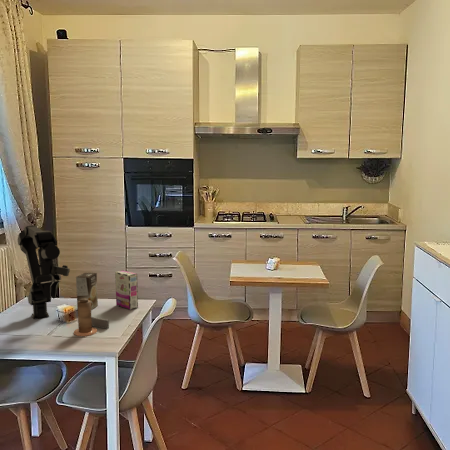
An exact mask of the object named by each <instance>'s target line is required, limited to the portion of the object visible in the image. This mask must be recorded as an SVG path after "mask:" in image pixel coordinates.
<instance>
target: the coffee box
mask: <svg viewBox="0 0 450 450" xmlns="http://www.w3.org/2000/svg"><path fill="white" fill-rule="evenodd" d="M97 277H98V273H97V272H83V273H81V274H79V275H77V276H76V277H75V283H76V284H75V286H76V303H77V302H78V301H80V299H83V298H87V299H88V300H90V301H91V311H92V310H94V309H96V308H97V307H98V306H99V303H98V279H97ZM76 308H77V312H78V307H76Z"/></svg>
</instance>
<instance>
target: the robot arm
mask: <svg viewBox="0 0 450 450" xmlns="http://www.w3.org/2000/svg"><path fill="white" fill-rule="evenodd" d="M17 245H18V246H19V249H20V251H21V252H23V254H25V258H26V261H27V262H26V263H27V266H28V270H29V274H30V279H31V286H30V288H29V293H28V296H27V302H28V304H29V305H30V306H32V312H33V313H31V316H32V318H33V320H36V319H42V318H47V317H50V314H49V312H48V306H47V304H48V303H51V301H52V299H56V297H57V296H56V295H57V289H58V286H59V284H60V282H61V280H62V277H69V275H70V272H71V268H69V266H68V265H64V264H63V265H62V266H57V263H56V262H55V259H56V260H57V258H58V257H60V253H61V250H60V248H59V247H58V240H57V238H56V237H55V235H54V233H52V231H50V230H43V229H41V228H39V227H38V226H37V225H26V226H24V228H23V230H22V231H20V232H19V233H18V235H17ZM37 248H38V249H37Z"/></svg>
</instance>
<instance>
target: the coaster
mask: <svg viewBox="0 0 450 450" xmlns="http://www.w3.org/2000/svg"><path fill="white" fill-rule="evenodd" d="M97 332H98V329H97V328H96V327H95V326H92V331H91V332H88V333H80V332H79V328H76V329H75V330H73V334H74V336H77V337H89V336H93V335H95V334H97Z"/></svg>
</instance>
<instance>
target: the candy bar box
mask: <svg viewBox="0 0 450 450" xmlns="http://www.w3.org/2000/svg"><path fill="white" fill-rule="evenodd" d="M114 275H115V278H114V279H115V299H116V300H115V302H116V303H115V305H116V306H117V305H119V306H118V307H120V306H121V308H123V307H124V309H126V308H127V310H129V309H130V311H131V310H135V309H137V308H139V296H138V294H139V293H138V292H139V291H138V273H135V272H131V271H126V270H118V271H114Z"/></svg>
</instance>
